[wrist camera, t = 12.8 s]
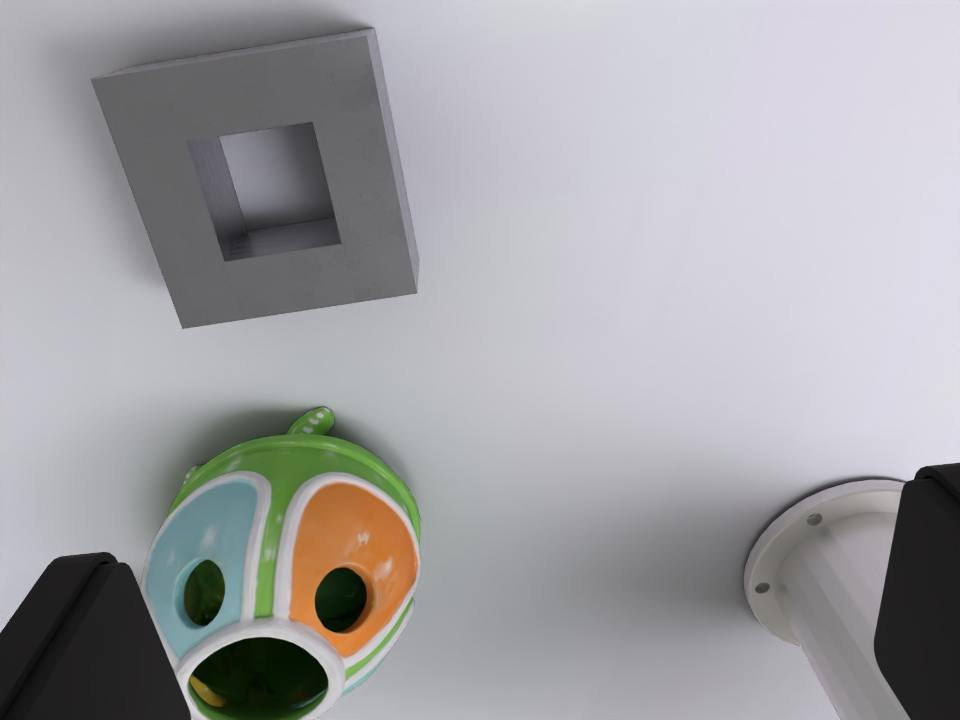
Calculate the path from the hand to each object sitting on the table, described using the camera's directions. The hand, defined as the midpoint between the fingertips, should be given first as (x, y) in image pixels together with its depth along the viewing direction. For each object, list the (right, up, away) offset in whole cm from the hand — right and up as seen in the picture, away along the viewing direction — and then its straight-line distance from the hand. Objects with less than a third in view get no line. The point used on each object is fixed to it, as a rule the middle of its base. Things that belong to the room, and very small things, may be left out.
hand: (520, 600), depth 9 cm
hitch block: (-9, +11, +23) cm, 27 cm away
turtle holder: (-11, -6, +32) cm, 35 cm away
